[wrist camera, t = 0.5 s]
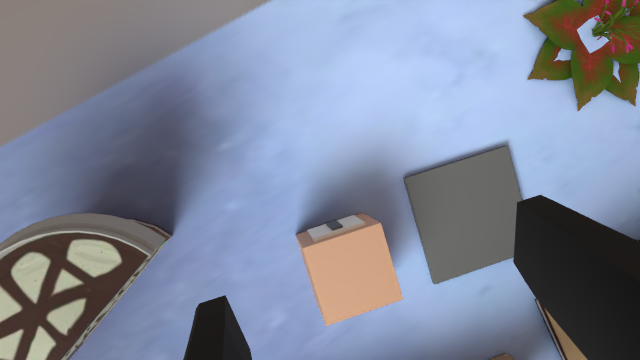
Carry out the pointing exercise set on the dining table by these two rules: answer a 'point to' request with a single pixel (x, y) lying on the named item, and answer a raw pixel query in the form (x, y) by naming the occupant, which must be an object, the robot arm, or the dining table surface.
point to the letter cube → (349, 267)
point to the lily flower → (587, 68)
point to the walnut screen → (503, 357)
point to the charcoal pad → (466, 213)
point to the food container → (68, 280)
